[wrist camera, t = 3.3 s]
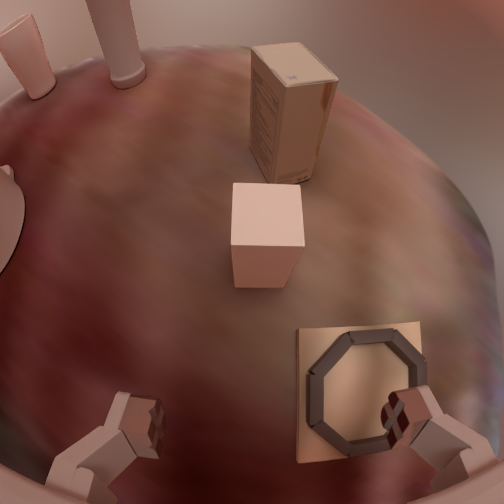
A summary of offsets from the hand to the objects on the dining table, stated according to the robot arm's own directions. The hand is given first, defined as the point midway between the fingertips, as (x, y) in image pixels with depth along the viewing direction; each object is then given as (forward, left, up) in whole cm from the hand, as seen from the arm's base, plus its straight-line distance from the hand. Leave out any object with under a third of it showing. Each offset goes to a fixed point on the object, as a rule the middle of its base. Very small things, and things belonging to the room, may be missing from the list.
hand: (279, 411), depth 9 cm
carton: (0, +10, -14) cm, 17 cm away
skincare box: (+2, +21, -14) cm, 25 cm away
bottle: (-18, +37, -14) cm, 43 cm away
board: (+8, -1, -13) cm, 16 cm away
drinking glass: (-35, +39, -14) cm, 55 cm away
